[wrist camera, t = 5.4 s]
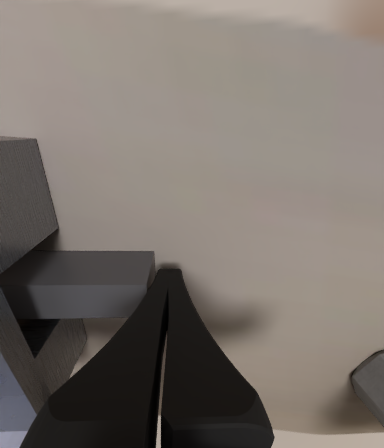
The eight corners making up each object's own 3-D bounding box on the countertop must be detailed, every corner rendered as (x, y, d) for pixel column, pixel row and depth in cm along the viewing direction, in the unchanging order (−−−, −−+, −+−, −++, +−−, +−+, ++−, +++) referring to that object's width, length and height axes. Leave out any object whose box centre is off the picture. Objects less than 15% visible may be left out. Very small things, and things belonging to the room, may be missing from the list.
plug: (153, 242, 11) (144, 277, 9) (155, 286, 13) (149, 328, 10) (-67, 241, 11) (-151, 278, 8) (-38, 288, 12) (-101, 333, 9)
